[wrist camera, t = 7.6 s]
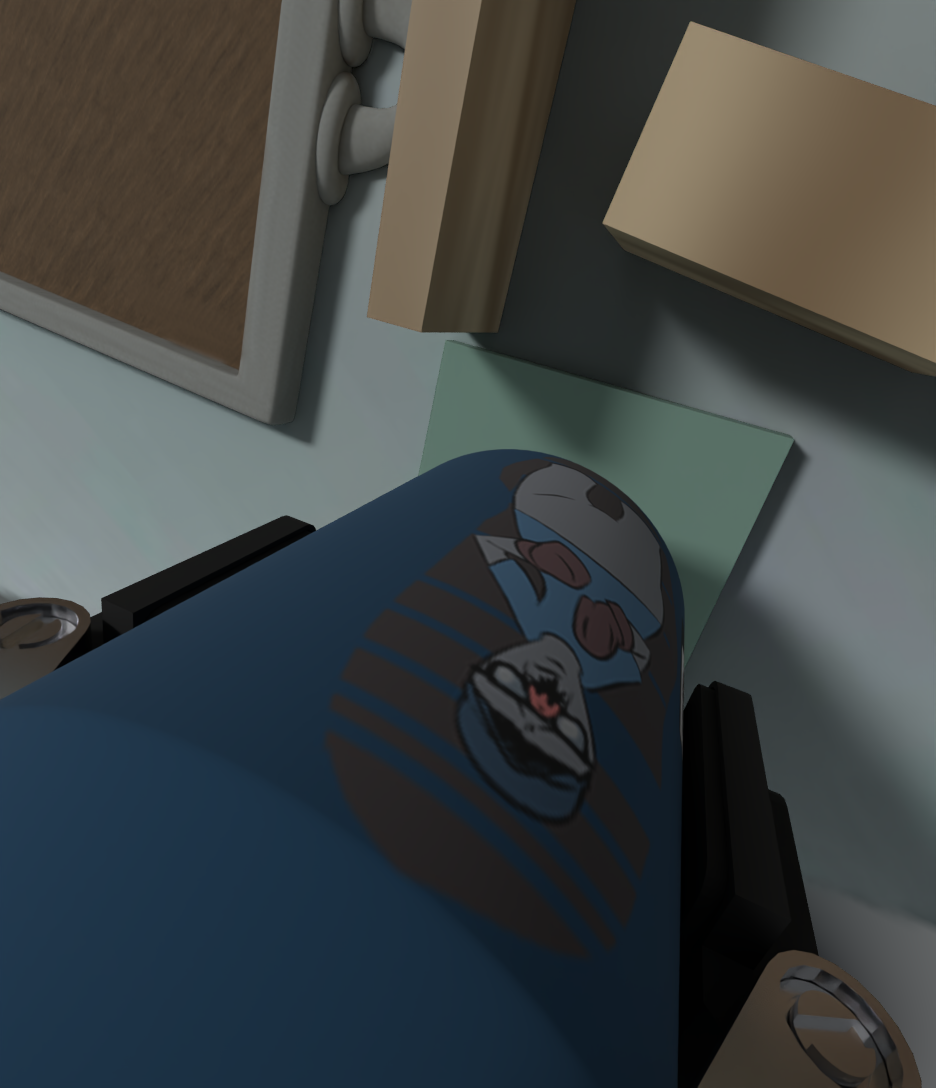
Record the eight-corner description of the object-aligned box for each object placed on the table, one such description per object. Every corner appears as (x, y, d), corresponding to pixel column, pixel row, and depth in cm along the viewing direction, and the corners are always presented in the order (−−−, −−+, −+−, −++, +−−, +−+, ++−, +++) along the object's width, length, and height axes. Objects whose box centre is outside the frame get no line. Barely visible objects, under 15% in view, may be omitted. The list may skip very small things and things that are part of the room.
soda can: (397, 674, 16) (-187, 1357, 5) (397, 422, 13) (-720, 765, 3) (656, 741, 14) (552, 2096, 3) (714, 457, 11) (1150, 2444, 1)
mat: (790, 435, 14) (794, 439, 13) (656, 716, 18) (655, 728, 17) (453, 340, 16) (445, 340, 15) (397, 610, 20) (389, 617, 19)
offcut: (1015, 229, 11) (1159, 182, 8) (909, 372, 13) (993, 387, 9) (690, 108, 13) (690, 21, 9) (624, 250, 14) (602, 223, 10)
